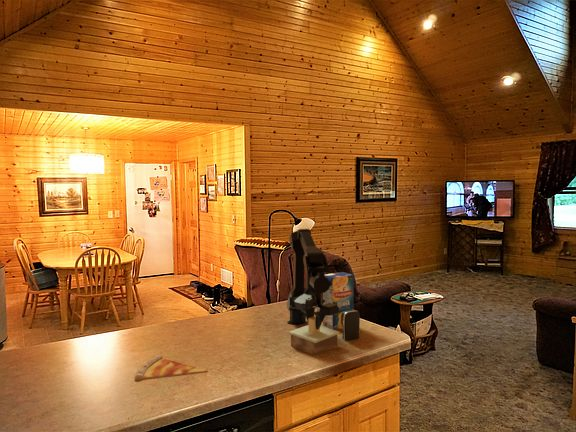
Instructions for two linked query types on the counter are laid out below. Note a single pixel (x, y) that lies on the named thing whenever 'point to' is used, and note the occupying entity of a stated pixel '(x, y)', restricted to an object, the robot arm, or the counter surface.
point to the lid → (313, 331)
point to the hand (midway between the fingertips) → (314, 328)
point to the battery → (350, 324)
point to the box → (313, 344)
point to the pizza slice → (164, 368)
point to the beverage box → (339, 297)
